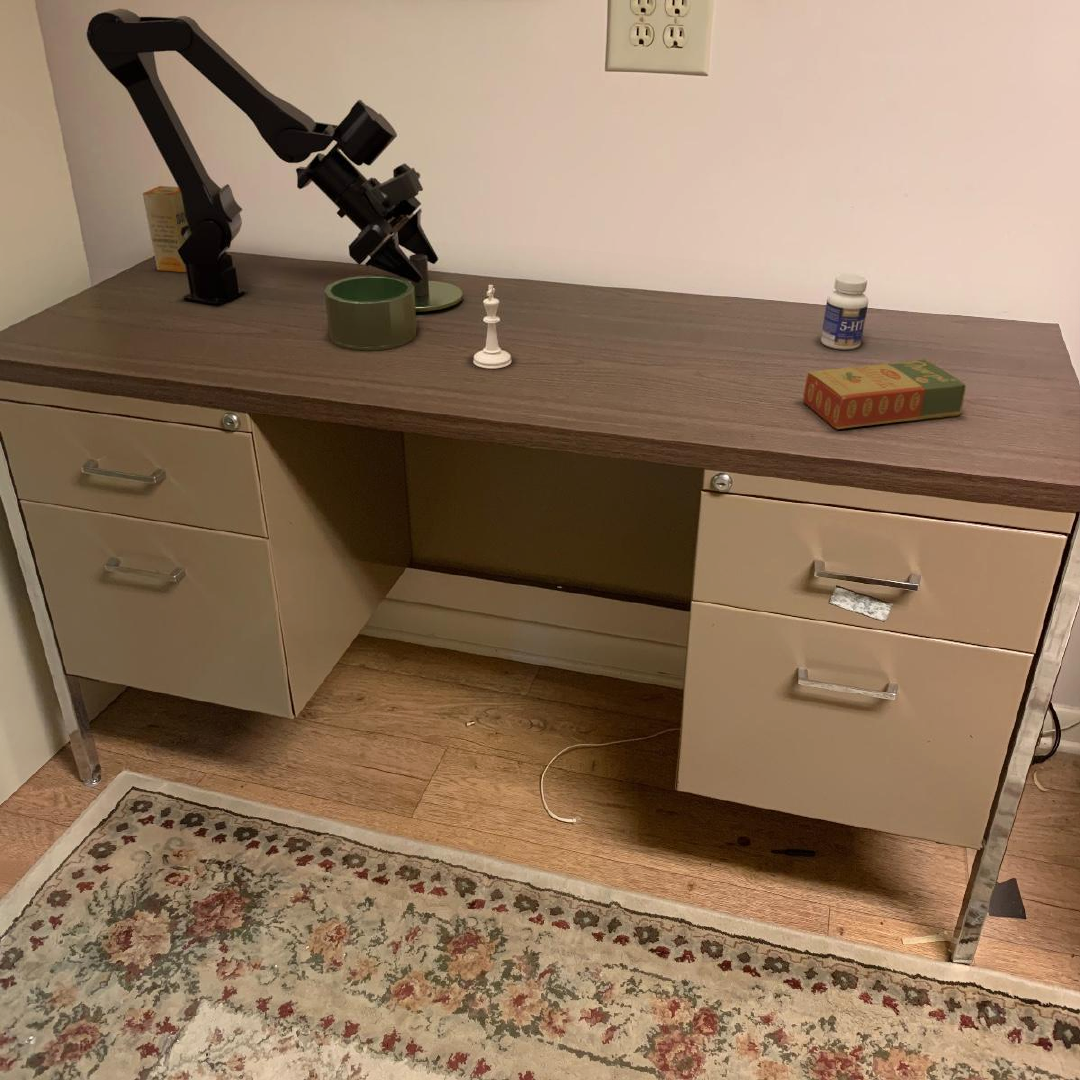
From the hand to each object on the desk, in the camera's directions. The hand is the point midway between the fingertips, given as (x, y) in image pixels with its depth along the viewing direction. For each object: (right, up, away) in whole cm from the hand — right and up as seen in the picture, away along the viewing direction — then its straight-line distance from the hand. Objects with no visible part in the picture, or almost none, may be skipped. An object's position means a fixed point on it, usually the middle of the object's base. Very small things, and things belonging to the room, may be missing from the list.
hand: (428, 270), depth 150 cm
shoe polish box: (-42, +5, +17) cm, 46 cm away
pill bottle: (+57, -13, -11) cm, 59 cm away
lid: (-1, -3, +2) cm, 4 cm away
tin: (-6, -11, -9) cm, 16 cm away
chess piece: (+10, -16, -17) cm, 26 cm away
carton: (+56, -24, -29) cm, 68 cm away
